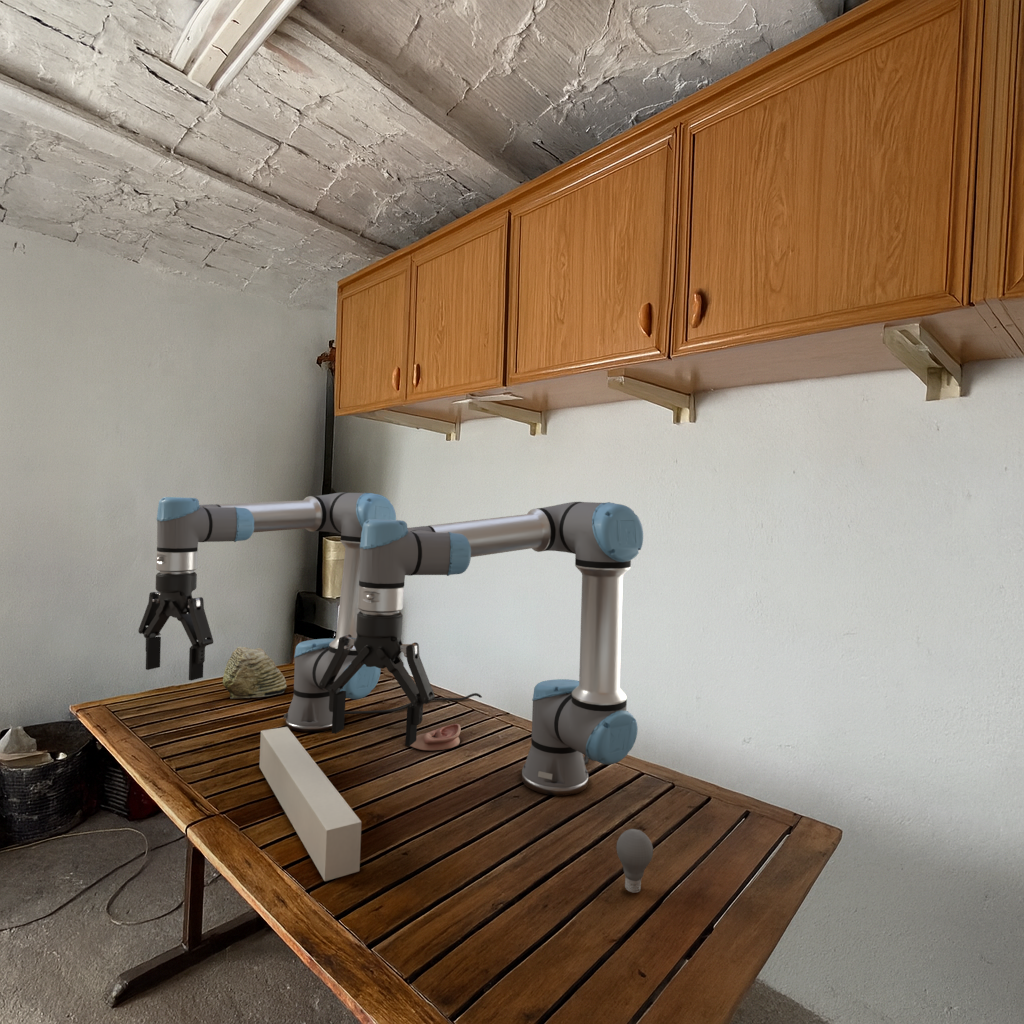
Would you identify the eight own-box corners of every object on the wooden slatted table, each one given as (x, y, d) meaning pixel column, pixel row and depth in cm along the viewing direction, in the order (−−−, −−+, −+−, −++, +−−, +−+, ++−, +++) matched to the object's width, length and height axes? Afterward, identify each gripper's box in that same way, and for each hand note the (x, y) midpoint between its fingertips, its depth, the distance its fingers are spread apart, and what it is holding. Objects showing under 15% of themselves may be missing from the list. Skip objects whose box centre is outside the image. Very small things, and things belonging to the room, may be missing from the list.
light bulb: (610, 879, 108) (613, 822, 108) (644, 879, 109) (647, 822, 109) (619, 902, 102) (622, 840, 102) (655, 901, 103) (658, 840, 103)
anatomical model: (402, 732, 161) (417, 717, 172) (401, 747, 161) (417, 732, 172) (452, 738, 158) (464, 723, 170) (451, 754, 158) (464, 737, 170)
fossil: (218, 695, 195) (220, 647, 195) (278, 685, 208) (279, 640, 207) (228, 703, 189) (230, 653, 188) (289, 692, 201) (290, 645, 201)
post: (259, 767, 147) (260, 730, 146) (286, 762, 150) (287, 726, 150) (324, 881, 105) (326, 830, 105) (359, 871, 108) (361, 821, 108)
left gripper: (121, 567, 133) (118, 668, 134) (201, 579, 122) (198, 688, 123) (155, 565, 140) (152, 660, 141) (234, 575, 129) (230, 678, 129)
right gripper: (302, 607, 106) (295, 733, 106) (440, 622, 99) (433, 756, 100) (327, 601, 113) (321, 719, 114) (457, 615, 107) (451, 740, 107)
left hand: (173, 673), depth 132 cm, fingers open, 13 cm apart
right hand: (373, 737), depth 107 cm, fingers open, 13 cm apart
